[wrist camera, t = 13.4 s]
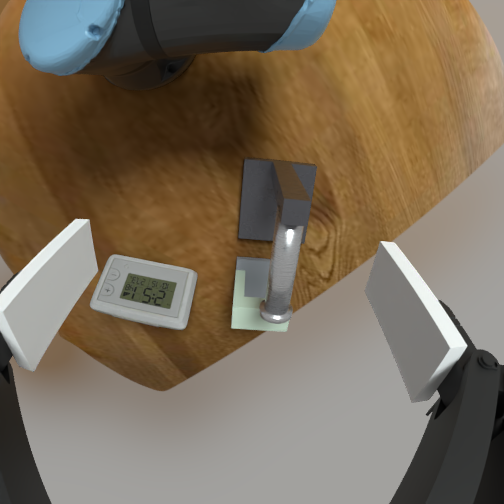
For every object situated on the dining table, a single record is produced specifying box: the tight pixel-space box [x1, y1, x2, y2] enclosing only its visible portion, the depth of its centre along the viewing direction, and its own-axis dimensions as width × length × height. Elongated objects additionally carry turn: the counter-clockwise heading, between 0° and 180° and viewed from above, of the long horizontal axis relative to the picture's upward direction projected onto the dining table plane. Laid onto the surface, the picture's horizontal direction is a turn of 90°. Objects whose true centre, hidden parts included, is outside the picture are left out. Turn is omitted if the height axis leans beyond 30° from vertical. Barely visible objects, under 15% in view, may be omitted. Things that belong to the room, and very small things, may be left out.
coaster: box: [236, 257, 270, 298], centre depth 51 cm, size 8×8×1 cm
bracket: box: [231, 270, 289, 331], centre depth 46 cm, size 8×4×10 cm, turn 85°
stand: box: [238, 157, 317, 324], centre depth 37 cm, size 10×14×18 cm
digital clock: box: [90, 255, 197, 330], centre depth 46 cm, size 16×9×11 cm, turn 67°
